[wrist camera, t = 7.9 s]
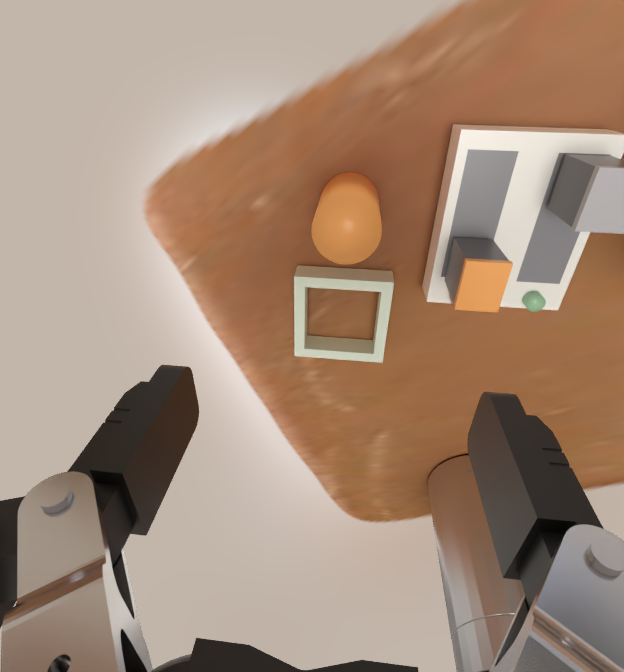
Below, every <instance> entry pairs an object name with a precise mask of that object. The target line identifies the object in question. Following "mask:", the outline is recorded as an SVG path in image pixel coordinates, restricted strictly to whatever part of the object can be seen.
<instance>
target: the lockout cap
mask: <svg viewBox="0 0 624 672" xmlns="http://www.w3.org/2000/svg"><path fill="white" fill-rule="evenodd" d="M381 235H382V223H381V216H380V208H379V200H378V194H377V191H376V188H375V186H374V185H373V183H372V182H371V181H370V180H369V179H368V178H367V177H365V176H364V175H362V174H359V173H355V172H345V173H341V174H338V175H336V176H335V177H333V178H332V179H331V180H330V181H329V182H328V183H327V184H326V185H325V187H324V189H323V191H322V194H321V197H320V200H319V203H318V207H317V210H316V213H315V216H314V219H313V223H312V238H313V242H314V244H315V246H316V248H317V249H318V251H319V252H320V253H321V254H322V255H323V256H324V257H325V258H327V259H328V260H330V261H332V262H335V263H338V264H354V263H358V262H361V261H363V260H365V259H366V258H368V257H369V256H370V255H371V254H372V253H373V252H374V251H375V250H376V248H377V247H378V245H379V242H380V240H381Z"/></svg>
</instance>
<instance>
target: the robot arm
mask: <svg viewBox="0 0 624 672" xmlns="http://www.w3.org/2000/svg"><path fill="white" fill-rule="evenodd" d="M198 417H199V406H198V400H197V395H196V390H195V385H194V380H193V374H192V371H191V369H190V368H189V367H183V366H171V365H161V366H160V367H159V368H158V369H157V371H156V372H155V374H154V375H153V377H152V378H151V380H150V381H149V382H140V383H139V384H137V385H136V386H134V387H133V388H131V389H130V390H129V391H127V392H126V393H125V394H124V395H123V397H122V398H121V399H120V401H119V402H118V403H117V405H116V406H115V407H114V411H112V412H111V413H110V415H109V416H108V417H107V418H106V421H105V423H103V424H102V425H101V427H100V428H99V430H98V431H97V432H96V434H95V435H94V436H93V438H92V439H91V440H90V442H89V443H88V445H87V446H86V447H85V449H84V450H83V451H82V453H81V454H80V456H79V457H78V458H77V460H76V461H75V462H74V464H73V465H72V466H71V468H70V469H69V470H68V471H67V472H64V473H60V474H57V475H54V476H51V477H49V478H48V479H45V480H44V481H42V482H41V483H39V484H38V485H36V486H35V487H34V488H33V489H32V490H31V491H30V492H29V493H28V494H27V495H26V496H24V497H19V498H14V499H8V500H3V501H0V627H1V626H2V643H1V644H2V645H1V672H418V668H417V667H410V666H403V665H395V664H388V663H379V662H373V661H365V660H360V661H354V662H349V663H344V664H339V665H334V666H328V667H323V668H318V669H313V670H300V669H297V668H295V667H293V666H291V665H289V664H287V663H284V662H283V661H281V660H279V659H277V658H275V657H272V656H270V655H268V654H266V653H264V652H262V651H260V650H258V649H256V648H254V647H252V646H250V645H245V644H237V643H229V642H223V641H215V640H207V639H200V638H196V641H195V645H194V648H193V651H192V654H190V655H186V656H182V657H180V658H177V659H174V660H171V661H169V662H167V663H165V664H163V665H161V666H159V667H157V668H155V669H154V670H153V669H152V664H151V660H150V656H149V652H148V649H147V646H146V643H145V640H144V637H143V634H142V631H141V627H140V623H139V619H138V614H137V609H136V605H135V600H134V595H133V591H132V586H131V581H130V577H129V572H128V567H127V563H126V558H125V553H124V550H123V546H124V545H125V543H126V541H127V539H128V537H129V535H130V534H138V535H147V533H148V531H149V528H150V526H151V524H152V522H153V520H154V518H155V515H156V513H157V511H158V509H159V507H160V505H161V502H162V500H163V498H164V496H165V494H166V492H167V489H168V487H169V485H170V483H171V481H172V479H173V476H174V474H175V472H176V470H177V468H178V466H179V463H180V461H181V459H182V457H183V455H184V453H185V450H186V448H187V446H188V444H189V442H190V440H191V437H192V435H193V433H194V431H195V429H196V426H197V422H198ZM468 454H469V455H465V456H460V457H456V458H453V459H450V460H448V461H445V462H444V463H442V464H441V465H439V466H438V467H437V468H435V469H434V470H433V471H432V473H431V475H430V476H429V479H428V492H429V498H430V505H431V511H432V517H433V525H434V530H435V537H436V544H437V549H438V556H439V563H440V569H441V576H442V582H443V588H444V595H445V601H446V607H447V614H448V620H449V626H450V633H451V639H452V644H453V651H454V657H455V663H456V669H457V672H624V541H623V540H622V539H621V538H619V537H617V536H616V535H614V534H613V533H611V532H609V531H607V530H605V529H603V527H602V525H601V523H600V521H599V520H598V518H597V516H596V514H595V512H594V510H593V508H592V506H591V504H590V502H589V501H588V499H587V497H586V495H585V493H584V491H583V489H582V487H581V485H580V483H579V481H578V479H577V478H576V476H575V474H574V472H573V470H572V468H570V467H569V462H568V460H567V458H566V457H565V455H564V453H562V449H561V447H560V445H559V443H558V441H557V439H556V437H555V436H554V434H553V432H552V431H551V430H550V429H549V428H548V427H547V426H546V425H545V424H544V423H543V422H542V421H541V420H540V419H539V418H538V417H537V416H532V415H526V413H525V411H524V409H523V407H522V405H521V403H520V401H519V399H518V397H517V396H516V395H515V394H506V393H494V392H484V393H483V394H482V395H481V398H480V400H479V403H478V406H477V409H476V412H475V415H474V418H473V421H472V424H471V427H470V430H469V434H468ZM16 601H17V603H16V606H15V607H13V606H14V604H15V602H16ZM12 607H13V608H12Z"/></svg>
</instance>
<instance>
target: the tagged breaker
mask: <svg viewBox="0 0 624 672" xmlns="http://www.w3.org/2000/svg"><path fill="white" fill-rule="evenodd" d="M512 266H513V263H512V261H509V260H508V259H507V257H506V256H505V255H504V253H503V252H502V251H501V249H500V248H499V247H498V246H497V244H496V243H495V242H494V240H493V239H474V238H455V237H454V240H453V244H452V249H451V253H450V258H449V262H448V267H447V271H446V276H445V283H446V286H447V288H448V291H449V293H450V296H451V298H452V301H453V304H454V305H453V307H454V310H468V311H483V312H498V310H499V307H500V304H501V301H502V297H503V294H504V291H505V288H506V285H507V282H508V279H509V276H510V272H511V269H512Z"/></svg>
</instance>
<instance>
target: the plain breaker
mask: <svg viewBox="0 0 624 672" xmlns="http://www.w3.org/2000/svg"><path fill="white" fill-rule="evenodd" d="M547 209H548V210H550V211H551V212H552V213H554V214H555V215H556V216H558V217H559V218H560V219H561V220H563V221H564V222H565V223H567V224H568V225H569V226H571V227H572V228H571V229H572V230H573V231H578V232H597V233H617V234H624V160H622V159H619V158H616V157H613V156H604V155H577V154H566V155H565V158H564V161H563V163H562V166H561V169H560V172H559V175H558V178H557V181H556V184H555V187H554V190H553V193H552V196H551V198H550V201H549V204H548V207H547Z"/></svg>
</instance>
